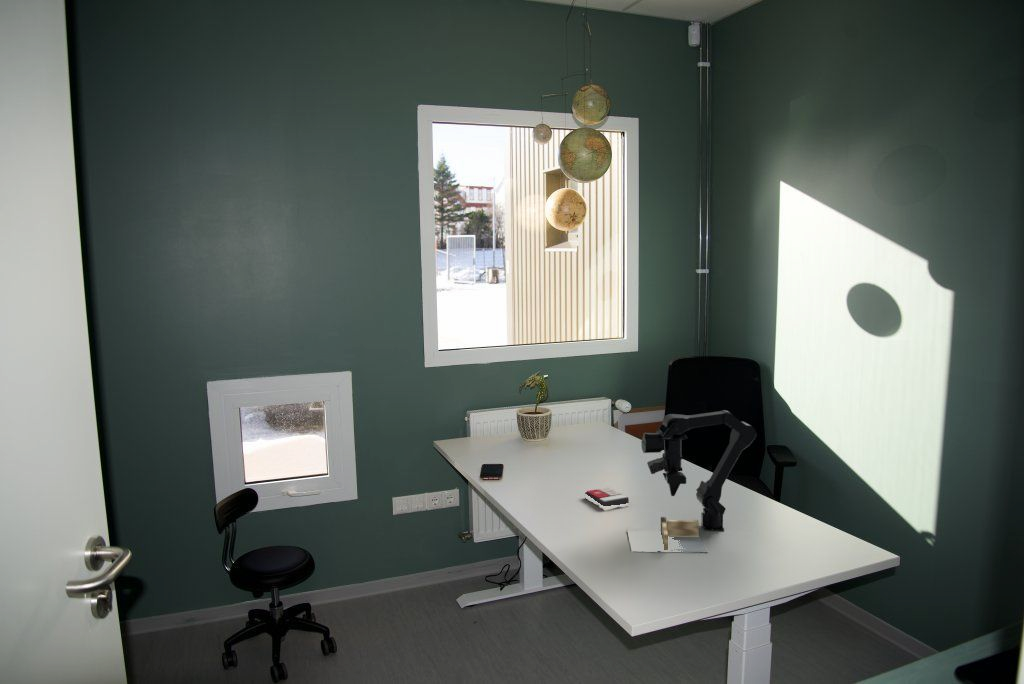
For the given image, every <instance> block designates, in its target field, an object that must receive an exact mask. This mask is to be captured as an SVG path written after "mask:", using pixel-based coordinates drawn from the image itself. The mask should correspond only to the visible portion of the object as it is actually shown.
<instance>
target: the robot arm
mask: <svg viewBox="0 0 1024 684" xmlns="http://www.w3.org/2000/svg"><path fill="white" fill-rule="evenodd" d="M722 424H723V425H726V426H727V427H729V428H730V429H731V432H730V433H729V434H730V435H729V436H730V437H729V444H728V445H727V447H726V448H725V450H724V453H723V455H722V456H721V458H720V460H719V462H718V463H717V465H716V467H715V469H714V470H713V472H712V474H711V476H710V478H709V479H707V480H706V481H703V480H701V481H700V483H699V486H698V487H697V488H696V489H695V491H696V495H695V497H696V499H697V501H698V502H699V503H700V505H701V506H702V512H701V514H700V522H701V527H703V529H704V530H705V531H725V528H724V515H725V512H726V510H727V509H726V507H725V506H724V505H723V504H722V503H720V500H721V497H722V493H723V492H722V491H723V486H724V484H725V482H726V480H727V479H728V477H729V475H730V473H731V471H733V470H732V469H733V467H734V466H735V464H736V462H737V460H738V459H739V457H740V455H741V453H742V452H743V450H745V449H746V448H748V447H750V445H751V444H752V443H753V441H754V440H755V439H756V438H757V431H756V429H755V427H754V426H752V425H750V424H749V423H747V422H745V421H741V420H740V419H738V418H737V417H736V416H734V415H733V413H732V412H730V411H728V410H726V409H723V410H720V411H713V412H712V411H711V412H704V413H698V414H697V413H696V414H691V415H690V414H689V415H686V414H678V413H677V414H676V413H670V414H667V415H665V416H664V417H663V419H662V423H660V426H659V427H658V429H656V432H643V434H642V439H641V440H640V441H641V449H642V453H643V454H651V453H652V454H654V453H656V454H657V453H662V451H664V452H663V453H662V457H659V458H655V459H652V460H649V461H647V462H646V465H647V467H648V469H649V472H650V474H651V475H654V474H655V475H656V473H658V472H662V471H664V472H663V473H662V475H663V477H664V480H665V481H666V484H668V488H669V492H670V496H671V497H675V496H676V494H677V492H678V489H679V488H680V486H681V485H685V484H687V476H686V475H685V474H684V473H683V467H682V460H683V455H682V440H688V436H687V435H686V434H685V432H687V431H689V430H691V429H694V428H701V427H710V426H714V425H715V426H718V425H722Z"/></svg>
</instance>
